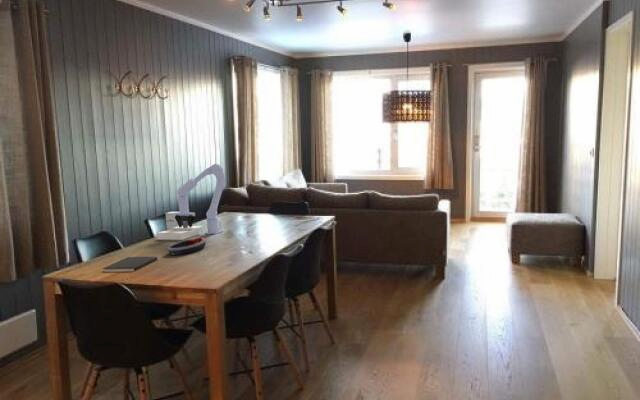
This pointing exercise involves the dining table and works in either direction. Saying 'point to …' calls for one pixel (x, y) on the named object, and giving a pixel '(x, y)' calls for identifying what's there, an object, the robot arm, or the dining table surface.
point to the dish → (186, 246)
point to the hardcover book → (129, 264)
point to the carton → (177, 234)
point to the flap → (185, 226)
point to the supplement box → (171, 220)
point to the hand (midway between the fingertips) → (185, 227)
